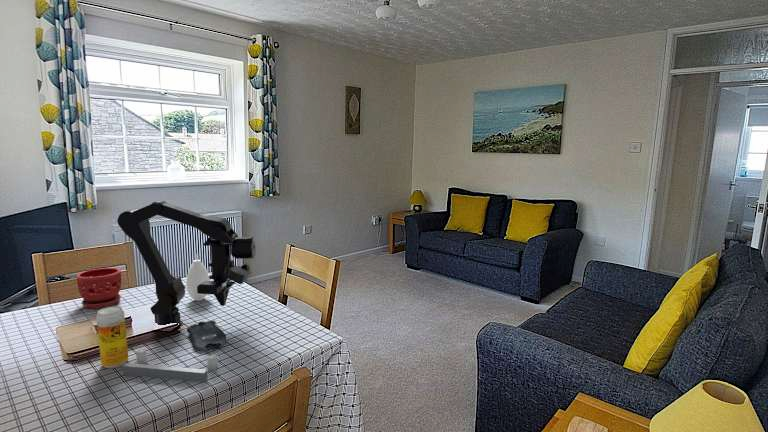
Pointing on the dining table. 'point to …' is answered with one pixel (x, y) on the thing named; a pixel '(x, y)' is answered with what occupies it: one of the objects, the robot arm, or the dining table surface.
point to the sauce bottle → (196, 279)
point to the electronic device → (206, 335)
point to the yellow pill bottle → (112, 336)
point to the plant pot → (99, 287)
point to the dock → (168, 369)
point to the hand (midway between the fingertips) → (223, 305)
